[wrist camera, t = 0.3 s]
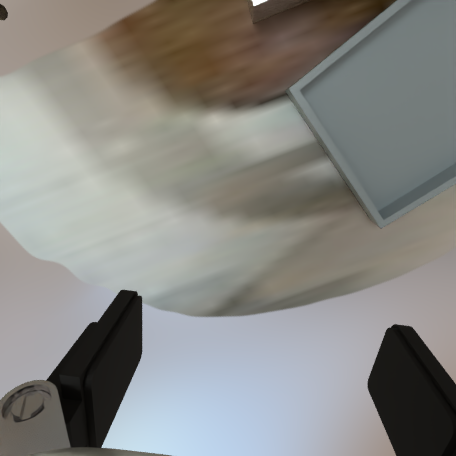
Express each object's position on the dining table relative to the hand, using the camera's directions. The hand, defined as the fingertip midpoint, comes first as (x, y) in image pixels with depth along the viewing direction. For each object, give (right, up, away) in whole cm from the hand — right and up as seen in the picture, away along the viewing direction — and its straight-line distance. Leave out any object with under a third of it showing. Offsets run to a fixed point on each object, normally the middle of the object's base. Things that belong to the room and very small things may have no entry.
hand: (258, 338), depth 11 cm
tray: (+21, +20, +23) cm, 37 cm away
